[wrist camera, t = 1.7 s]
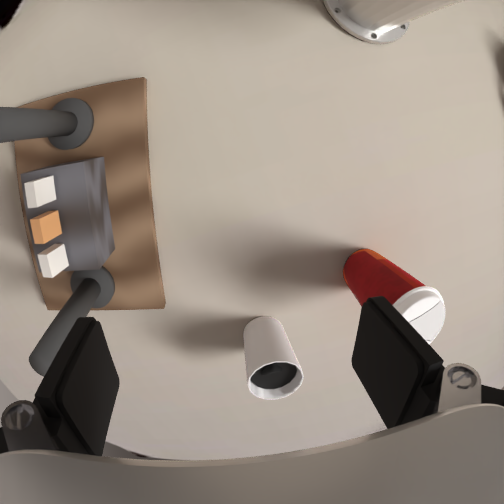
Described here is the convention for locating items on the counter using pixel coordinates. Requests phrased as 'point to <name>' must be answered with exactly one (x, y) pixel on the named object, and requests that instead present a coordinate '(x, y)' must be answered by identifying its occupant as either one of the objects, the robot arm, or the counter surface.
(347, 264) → the coffee cup
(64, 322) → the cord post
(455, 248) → the counter surface
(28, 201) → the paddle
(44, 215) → the paddle middle
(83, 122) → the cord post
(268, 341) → the white cup
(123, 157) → the breaker panel
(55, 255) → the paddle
